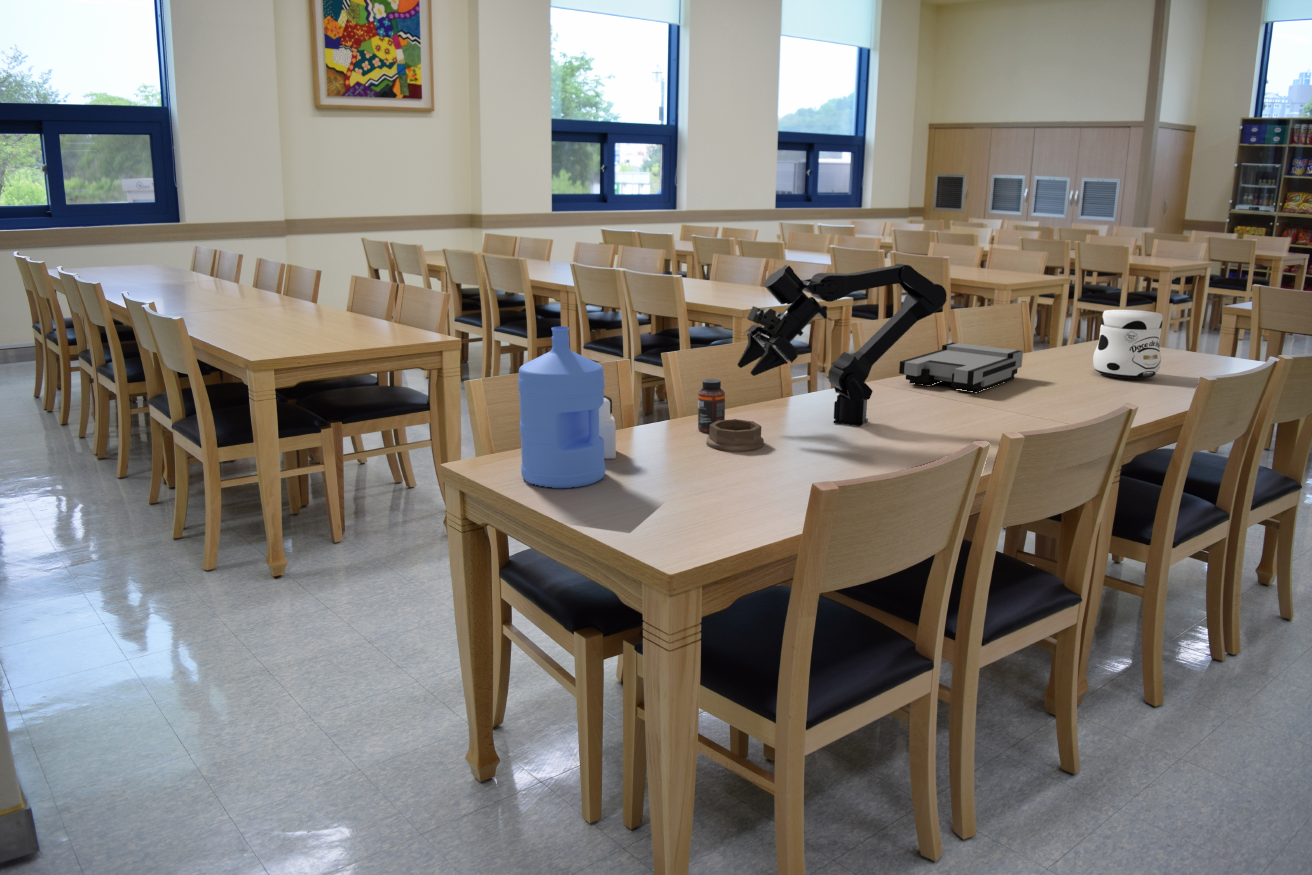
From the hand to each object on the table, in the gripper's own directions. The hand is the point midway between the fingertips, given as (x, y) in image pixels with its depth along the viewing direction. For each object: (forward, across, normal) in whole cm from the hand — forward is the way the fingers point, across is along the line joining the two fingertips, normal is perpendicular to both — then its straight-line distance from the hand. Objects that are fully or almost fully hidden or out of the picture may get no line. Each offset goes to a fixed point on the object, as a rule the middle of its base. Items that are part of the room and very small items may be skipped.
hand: (745, 370), depth 213 cm
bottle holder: (+13, +12, +5) cm, 19 cm away
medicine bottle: (+35, +14, -16) cm, 40 cm away
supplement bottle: (+15, 0, +4) cm, 15 cm away
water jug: (+41, +27, -22) cm, 54 cm away
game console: (-43, -36, +62) cm, 84 cm away
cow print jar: (-79, -34, +98) cm, 130 cm away
